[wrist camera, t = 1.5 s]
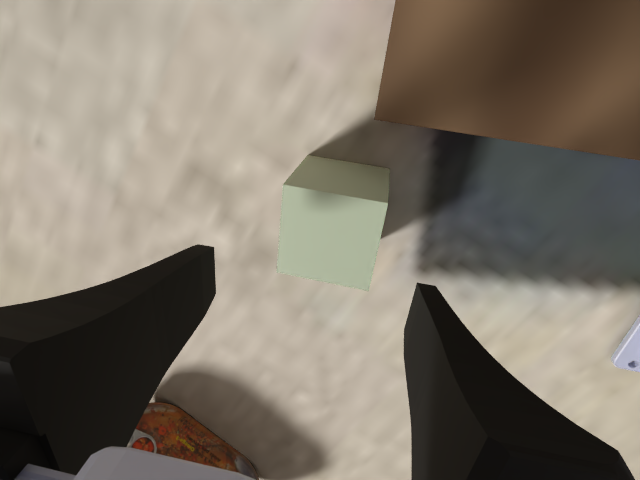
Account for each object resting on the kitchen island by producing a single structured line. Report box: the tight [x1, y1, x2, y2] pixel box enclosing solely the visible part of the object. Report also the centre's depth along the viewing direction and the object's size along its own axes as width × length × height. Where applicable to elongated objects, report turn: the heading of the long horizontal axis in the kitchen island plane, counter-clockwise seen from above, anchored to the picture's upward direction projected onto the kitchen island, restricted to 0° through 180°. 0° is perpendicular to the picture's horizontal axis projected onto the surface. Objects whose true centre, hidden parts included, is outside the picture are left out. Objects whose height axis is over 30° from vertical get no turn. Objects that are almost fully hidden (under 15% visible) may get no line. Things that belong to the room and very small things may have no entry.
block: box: [277, 155, 390, 291], centre depth 18 cm, size 4×4×5 cm
